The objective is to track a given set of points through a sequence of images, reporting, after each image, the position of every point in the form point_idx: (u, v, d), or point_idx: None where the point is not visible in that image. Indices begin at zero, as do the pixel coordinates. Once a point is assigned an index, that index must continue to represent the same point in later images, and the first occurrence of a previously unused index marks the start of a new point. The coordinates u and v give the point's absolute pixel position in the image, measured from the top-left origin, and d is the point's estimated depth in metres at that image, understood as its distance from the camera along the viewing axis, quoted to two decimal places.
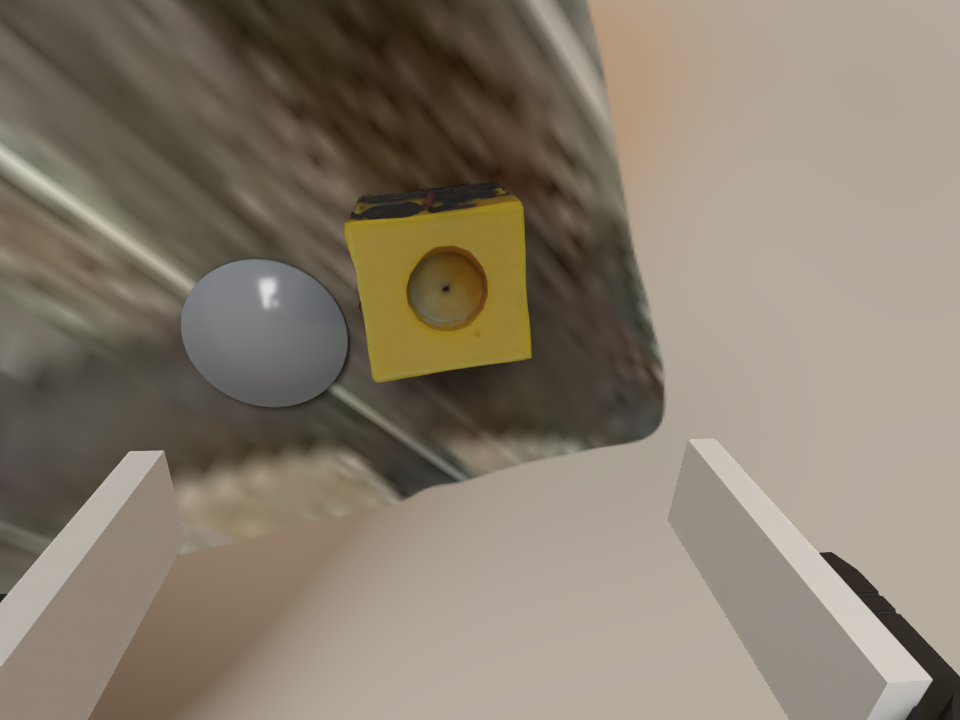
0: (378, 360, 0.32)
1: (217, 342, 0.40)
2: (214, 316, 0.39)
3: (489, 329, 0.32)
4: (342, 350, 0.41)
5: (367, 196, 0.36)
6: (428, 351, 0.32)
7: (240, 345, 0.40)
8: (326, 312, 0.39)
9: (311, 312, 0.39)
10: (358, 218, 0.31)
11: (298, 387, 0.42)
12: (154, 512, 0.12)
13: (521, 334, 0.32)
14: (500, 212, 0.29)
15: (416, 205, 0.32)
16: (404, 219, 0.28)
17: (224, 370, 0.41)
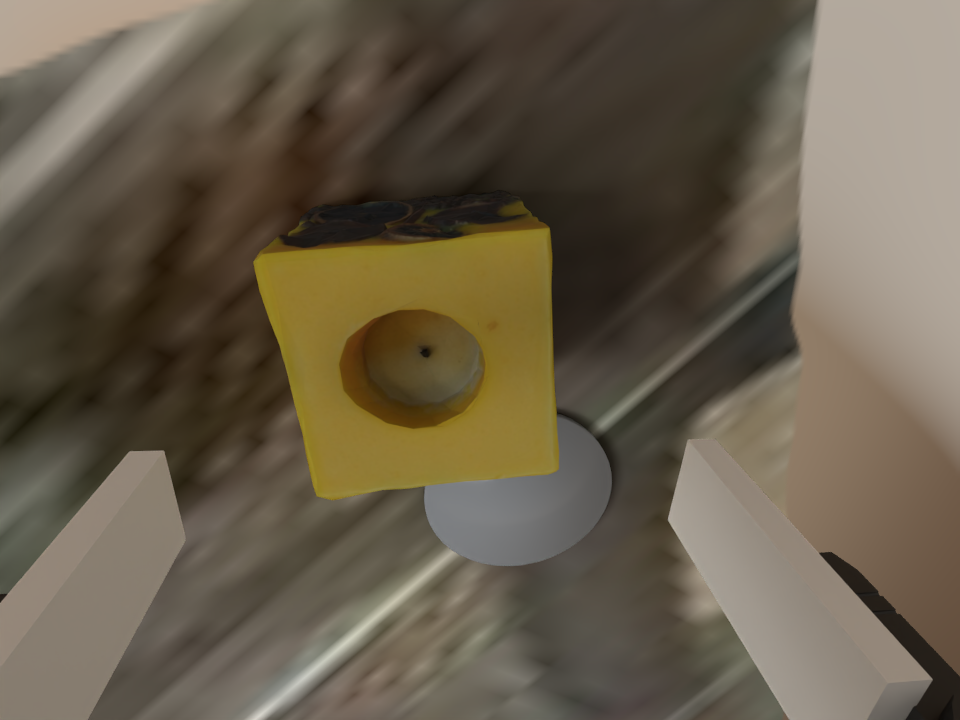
0: (523, 466, 0.21)
1: (519, 538, 0.35)
2: (488, 538, 0.35)
3: (484, 306, 0.18)
4: None
5: None
6: (516, 400, 0.20)
7: (525, 519, 0.34)
8: None
9: None
10: None
11: (588, 469, 0.33)
12: (154, 512, 0.12)
13: (499, 250, 0.17)
14: (275, 293, 0.17)
15: None
16: (303, 430, 0.19)
17: (554, 535, 0.35)
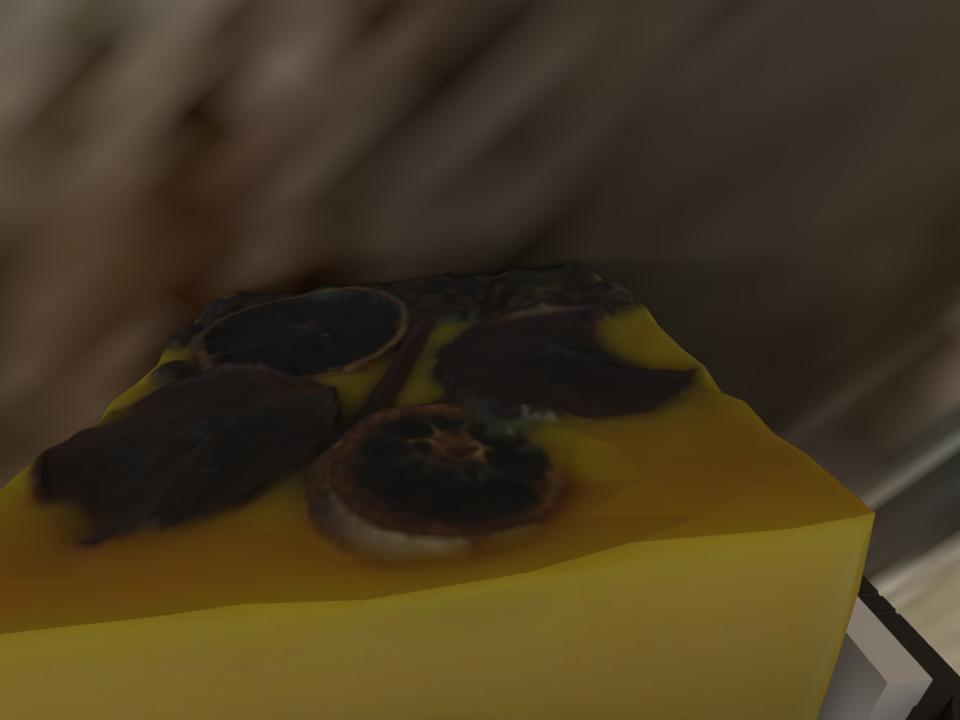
0: None
1: None
2: None
3: (629, 715, 0.06)
4: None
5: None
6: None
7: None
8: None
9: None
10: None
11: None
12: None
13: (702, 588, 0.05)
14: None
15: None
16: None
17: None
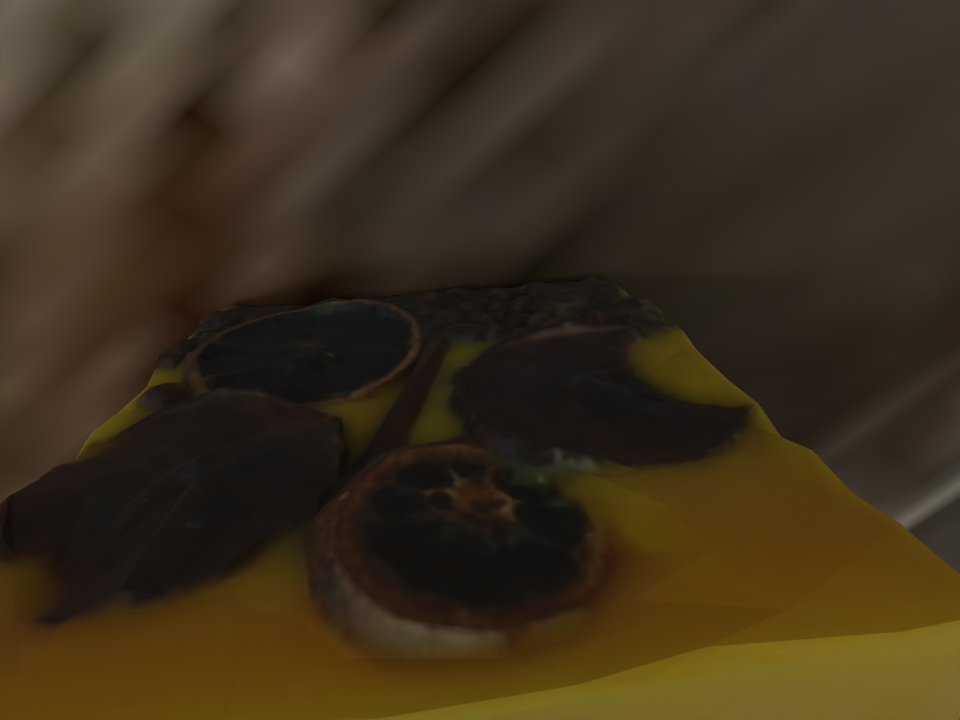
0: None
1: None
2: None
3: None
4: None
5: None
6: None
7: None
8: None
9: None
10: None
11: None
12: None
13: (787, 698, 0.04)
14: None
15: None
16: None
17: None
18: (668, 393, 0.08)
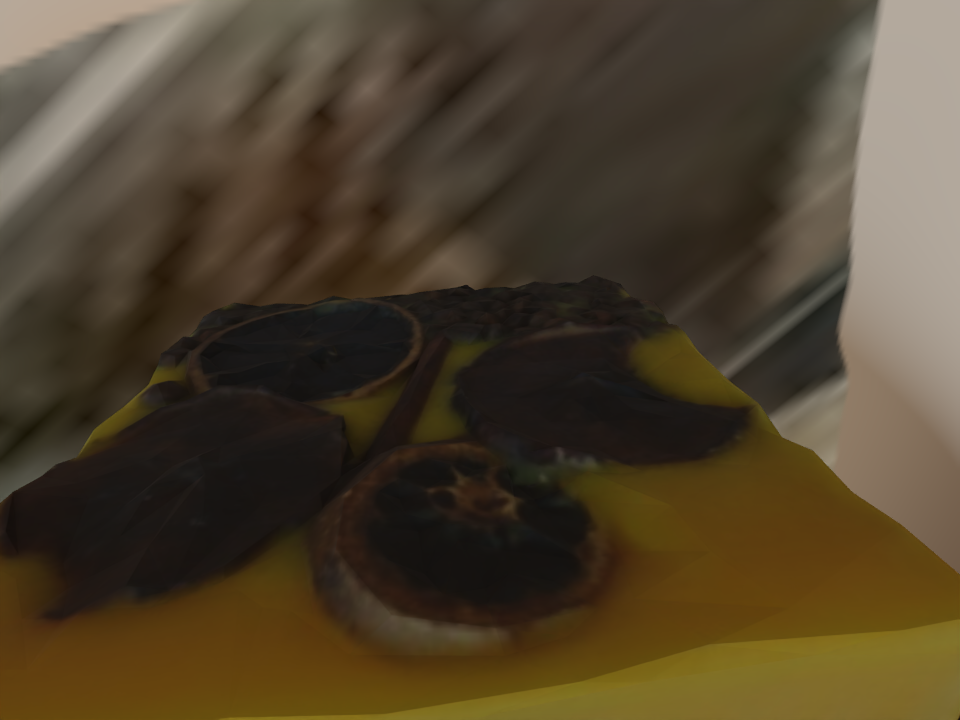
0: None
1: None
2: None
3: None
4: None
5: None
6: None
7: None
8: None
9: None
10: None
11: None
12: None
13: (789, 697, 0.04)
14: None
15: None
16: None
17: None
18: (669, 393, 0.08)
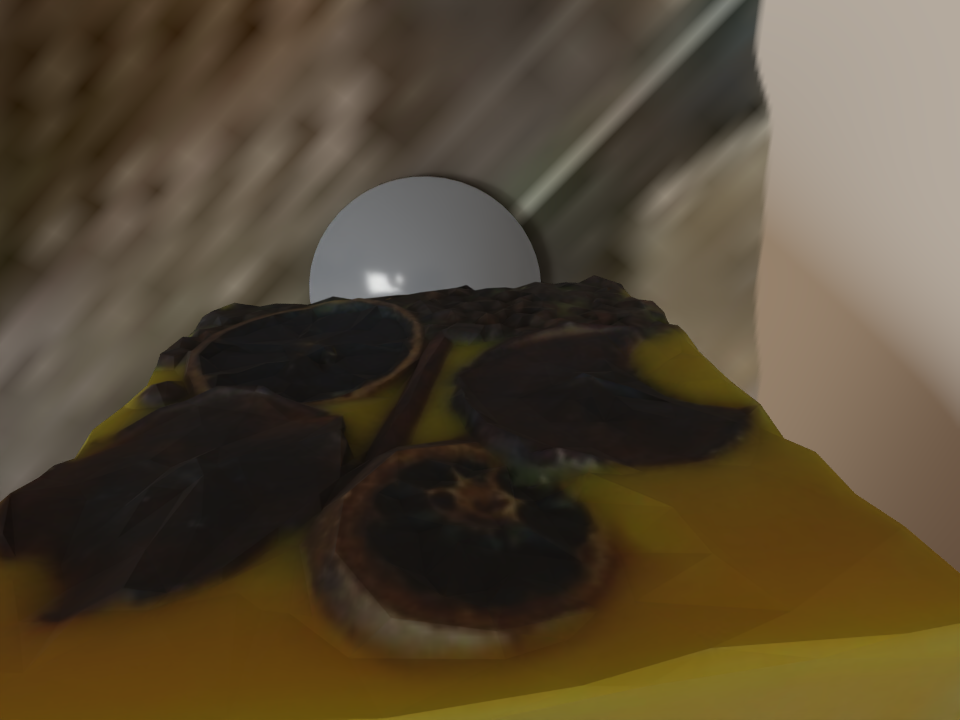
0: None
1: None
2: None
3: None
4: (452, 187, 0.25)
5: None
6: None
7: None
8: (386, 205, 0.25)
9: (386, 228, 0.26)
10: None
11: (511, 264, 0.27)
12: None
13: (791, 699, 0.04)
14: None
15: None
16: None
17: None
18: (670, 394, 0.08)
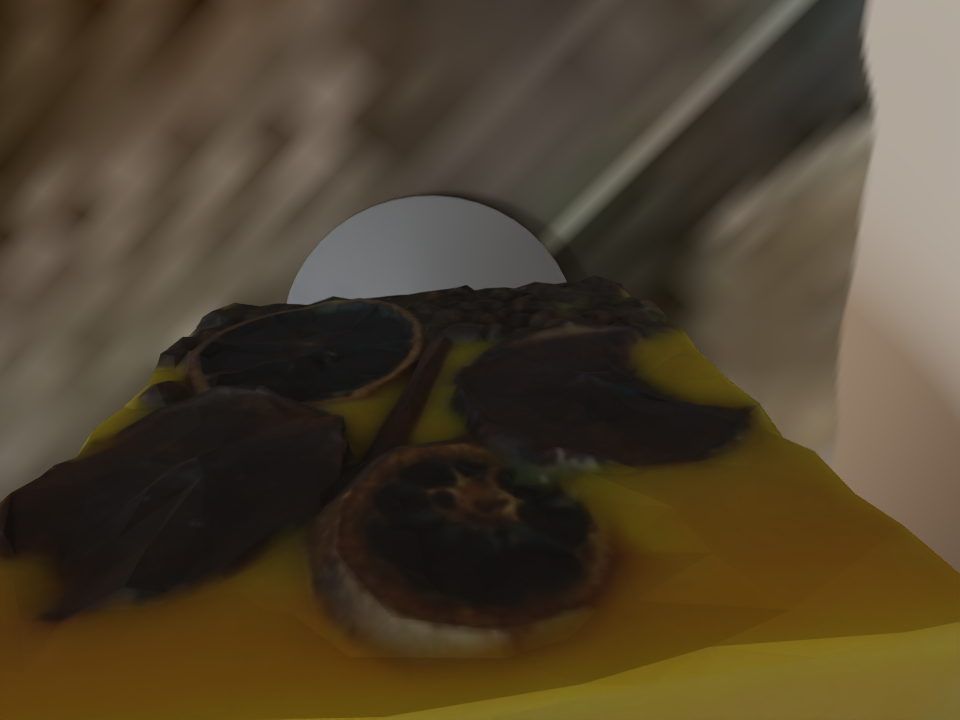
0: None
1: None
2: None
3: None
4: (466, 210, 0.20)
5: None
6: None
7: None
8: (381, 232, 0.20)
9: (380, 262, 0.20)
10: None
11: None
12: None
13: (790, 698, 0.04)
14: None
15: None
16: None
17: None
18: (670, 394, 0.08)
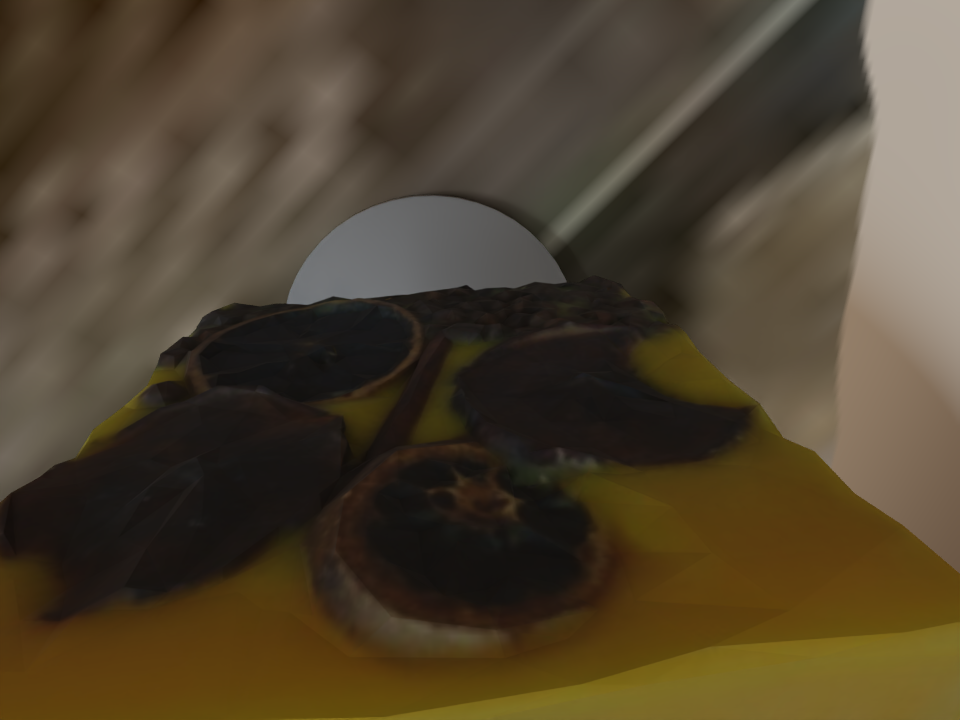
0: None
1: None
2: None
3: None
4: (466, 210, 0.20)
5: None
6: None
7: None
8: (381, 232, 0.20)
9: (380, 262, 0.20)
10: None
11: None
12: None
13: (790, 698, 0.04)
14: None
15: None
16: None
17: None
18: (670, 394, 0.08)
